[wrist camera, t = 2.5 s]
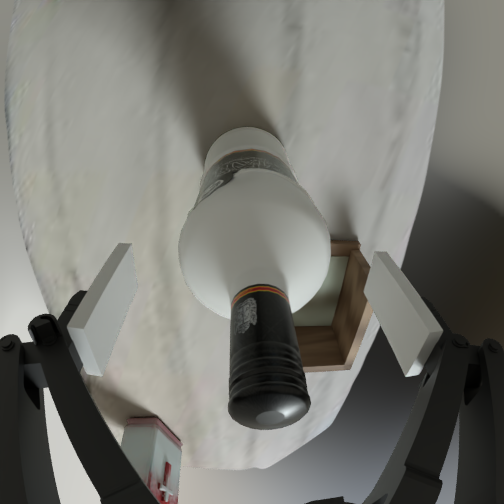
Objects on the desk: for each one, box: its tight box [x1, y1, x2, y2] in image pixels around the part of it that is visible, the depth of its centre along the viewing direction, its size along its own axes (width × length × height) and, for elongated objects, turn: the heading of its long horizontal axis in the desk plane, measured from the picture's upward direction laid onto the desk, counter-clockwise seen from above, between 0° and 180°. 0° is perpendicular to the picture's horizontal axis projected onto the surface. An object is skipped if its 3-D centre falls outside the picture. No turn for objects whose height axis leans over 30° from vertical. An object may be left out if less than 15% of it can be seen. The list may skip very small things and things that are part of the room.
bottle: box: [121, 417, 183, 504], centre depth 50 cm, size 14×10×30 cm
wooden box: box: [292, 240, 373, 372], centre depth 40 cm, size 16×14×9 cm
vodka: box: [178, 127, 331, 430], centre depth 22 cm, size 9×9×30 cm
